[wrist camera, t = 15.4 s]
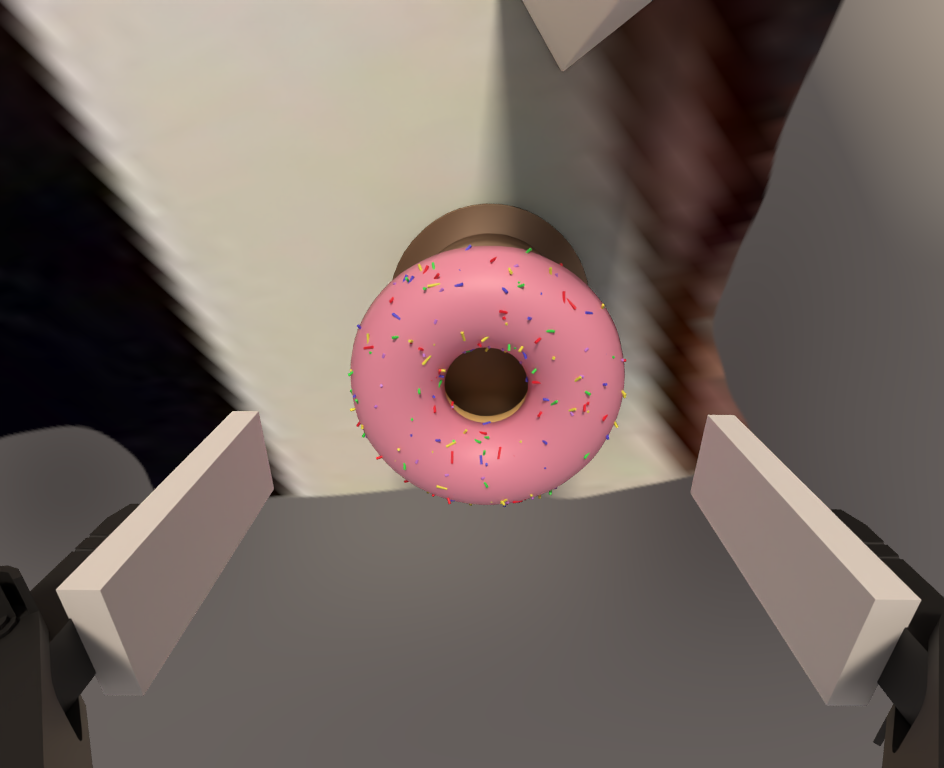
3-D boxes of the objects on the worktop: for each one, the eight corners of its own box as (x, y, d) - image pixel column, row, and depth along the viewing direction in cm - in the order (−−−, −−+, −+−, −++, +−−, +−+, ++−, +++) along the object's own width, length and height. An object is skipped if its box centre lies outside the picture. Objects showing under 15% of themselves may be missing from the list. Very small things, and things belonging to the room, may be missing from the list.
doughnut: (667, 340, 21) (706, 379, 17) (508, 508, 25) (512, 571, 21) (456, 177, 19) (447, 180, 15) (317, 390, 22) (282, 437, 19)
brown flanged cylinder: (357, 326, 32) (305, 392, 22) (464, 158, 27) (453, 154, 18) (508, 424, 34) (516, 518, 25) (626, 283, 30) (688, 334, 21)
